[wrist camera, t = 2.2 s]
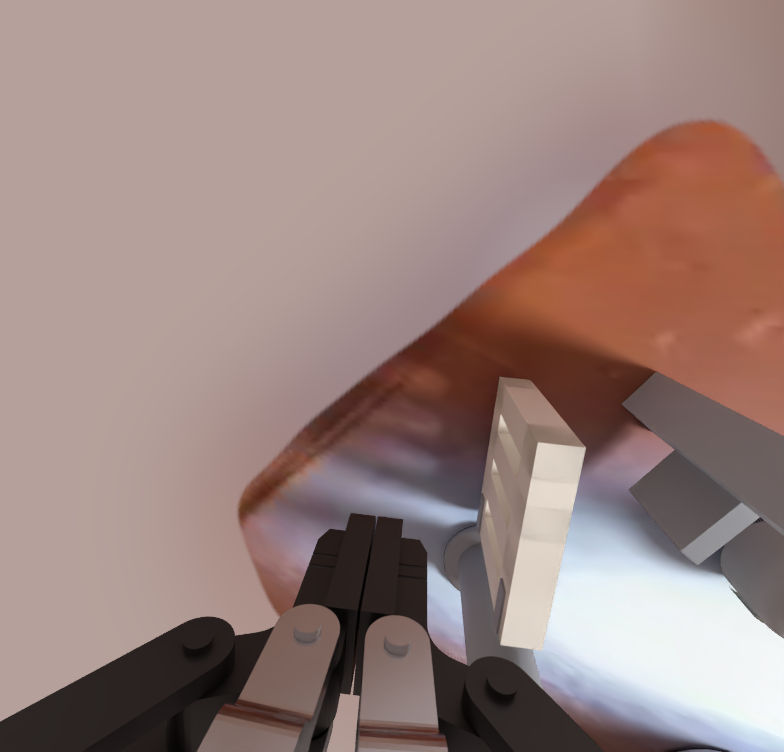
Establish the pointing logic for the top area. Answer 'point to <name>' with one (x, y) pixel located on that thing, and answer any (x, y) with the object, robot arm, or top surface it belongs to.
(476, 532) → the hinge post
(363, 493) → the top surface
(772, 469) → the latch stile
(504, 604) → the gate
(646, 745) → the top surface
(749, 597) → the reed diffuser
